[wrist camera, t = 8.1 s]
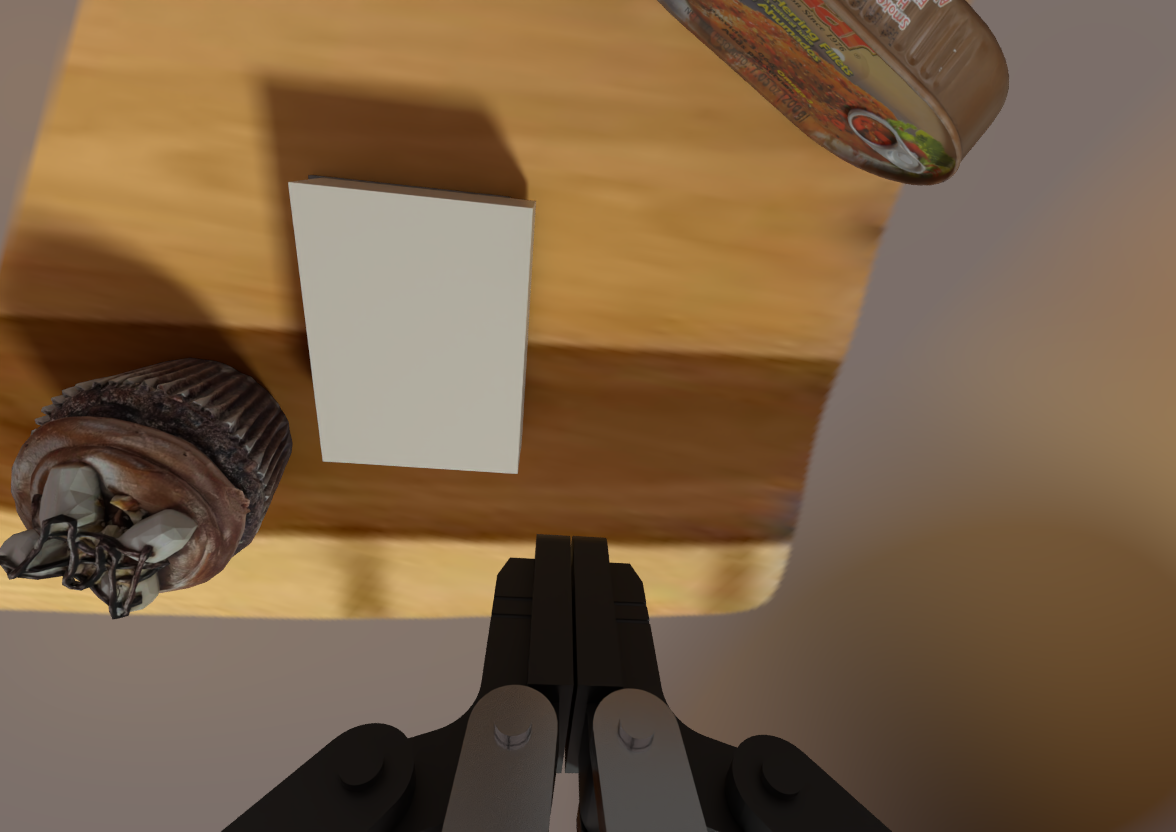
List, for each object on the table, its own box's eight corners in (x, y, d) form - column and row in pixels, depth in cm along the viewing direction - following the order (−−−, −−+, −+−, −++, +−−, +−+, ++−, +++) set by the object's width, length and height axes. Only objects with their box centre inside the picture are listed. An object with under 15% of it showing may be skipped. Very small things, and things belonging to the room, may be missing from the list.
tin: (591, -57, 21) (609, -175, 13) (641, -149, 19) (693, -336, 12) (861, 187, 25) (993, 204, 17) (914, 122, 24) (1080, 110, 16)
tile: (536, 200, 24) (324, 177, 23) (532, 208, 21) (287, 182, 20) (522, 438, 29) (349, 426, 28) (517, 473, 26) (322, 461, 25)
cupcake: (330, 387, 28) (221, 501, 19) (285, 526, 32) (177, 677, 23) (126, 307, 26) (-107, 394, 17) (103, 467, 29) (-97, 607, 20)
